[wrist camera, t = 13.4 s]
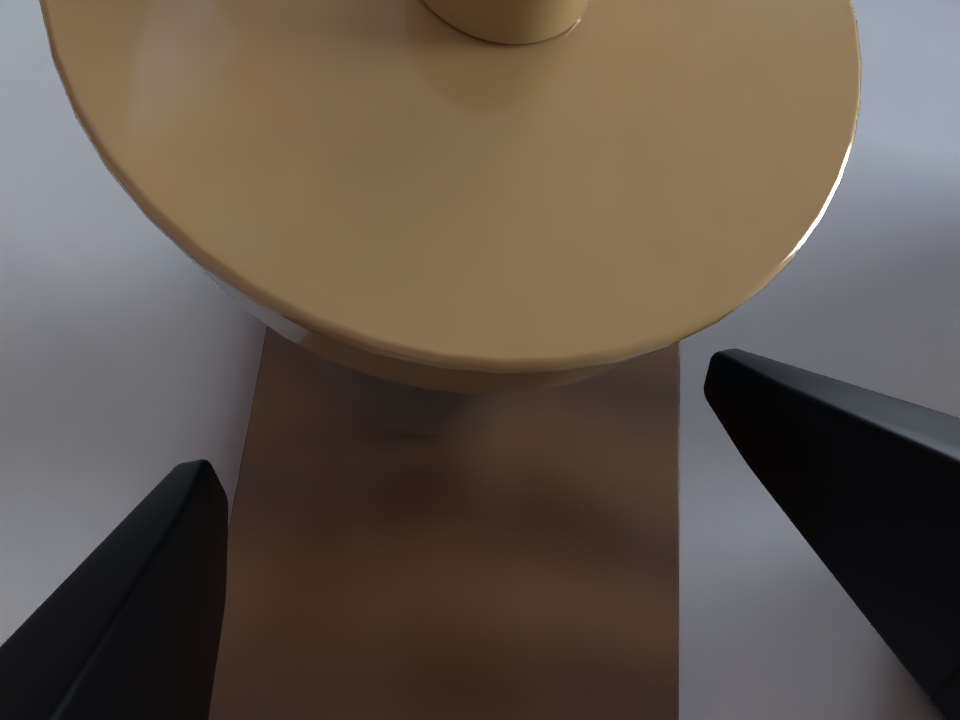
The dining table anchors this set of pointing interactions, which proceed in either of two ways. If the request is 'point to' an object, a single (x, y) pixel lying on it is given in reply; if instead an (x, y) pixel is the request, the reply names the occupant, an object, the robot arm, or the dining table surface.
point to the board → (455, 556)
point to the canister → (471, 172)
